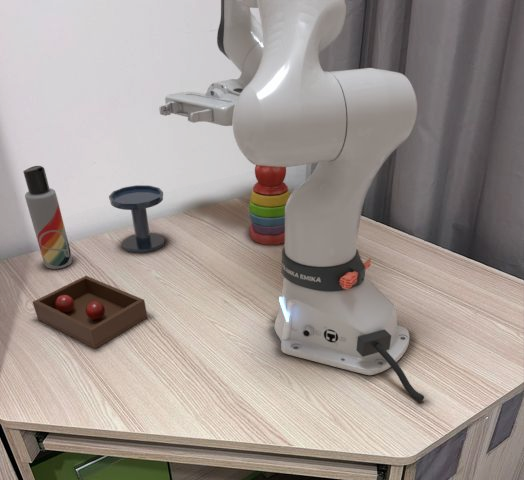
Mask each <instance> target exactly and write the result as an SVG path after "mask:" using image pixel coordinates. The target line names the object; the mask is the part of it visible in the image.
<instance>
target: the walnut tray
mask: <svg viewBox="0 0 524 480" xmlns="http://www.w3.org/2000/svg"><path fill="white" fill-rule="evenodd" d="M61 295H68V296H70V297H71V298H72V299H73V300H74V308H73V310H72V311H70V312H68V313H62V312H60V311H58V310H57V308H56V306H55V301H56V299H57V298H58V297H59V296H61ZM94 301H96V302H100V303H101V304H102V305H103V306H104V308H105V314H104V316H103V317H102V318H101V319H99V320H92V319H90V318H89V317H88V316H87V314H86V307H87V305H88V304H89V303H91V302H94ZM32 305H33V309H34V312H35V315H36V317H37V320H38V321H40V322H42V323H44V324H46V325H48V326H50V327H52V328H54V329H56V330H58V331H60V332H62V333H64V334H65V335H68V336H69V337H72V338H74V339H76V340H77V341H80V342H81V343H83V344H85V345H88V346H89V347H91V348H93V349H98V348H99V347H101V346H102V345H104V344H106V343H107V342H109V341H111V340H112V339H114V338H116V337H118V336H119V335H121V334H123V333H124V332H126V331H127V330H129V329H131V328H133V327H134V326H136V325H137V324H139V323H140V322H142V321H143V320H145V319H147V318H148V313H147V307H146V301H145V299H143V298H141V297H138V296H137V295H133V294H131V293H129V292H127V291H124V290H121V289H119V288H117V287H115V286H113V285H109V284H107V283H105V282H102V281H101V280H97V279H95V278H93V277H90V276H89V275H85V276H82V277H80V278H78V279H76V280H74V281H72V282H70V283H68V284H66V285H64V286H62V287H60V288H58V289H56V290H54V291H52V292H49V293H48V294H46V295H44V296H41V297H39V298H38V299H36V300H33V301H32Z"/></svg>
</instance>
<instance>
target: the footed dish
mask: <svg viewBox="0 0 524 480" xmlns="http://www.w3.org/2000/svg"><path fill="white" fill-rule="evenodd" d="M108 199H109V202H110V205H111V206H112V207H113V208H115V209H119V210H124V211H130V212H131V219H132V225H133V230H134V231H133V232H134V234H132V235H129V236H128V237H126V238H125V239H124V240H123V241H122V246H123V248H124V250H126V251H128V252H130V253H136V254H137V253H138V254H143V253H149V252H153V251H156V250H159V249H160V248H162V247H163V246H164V245H165V238H164V236H163V235H161V234H159V233H155V232H150V225H149V220H148V219H149V218H148V212H147V209H149V208H152V207H155V206H157V205H159V204H160V203H162V201H164V191H163V190H162V189H161V188H160V187H157V186H153V185H143V184H139V185H138V184H136V185H131V186H125V187H121V188H118V189H116V190H114V191H112V192H111V193H110V195H108Z"/></svg>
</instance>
